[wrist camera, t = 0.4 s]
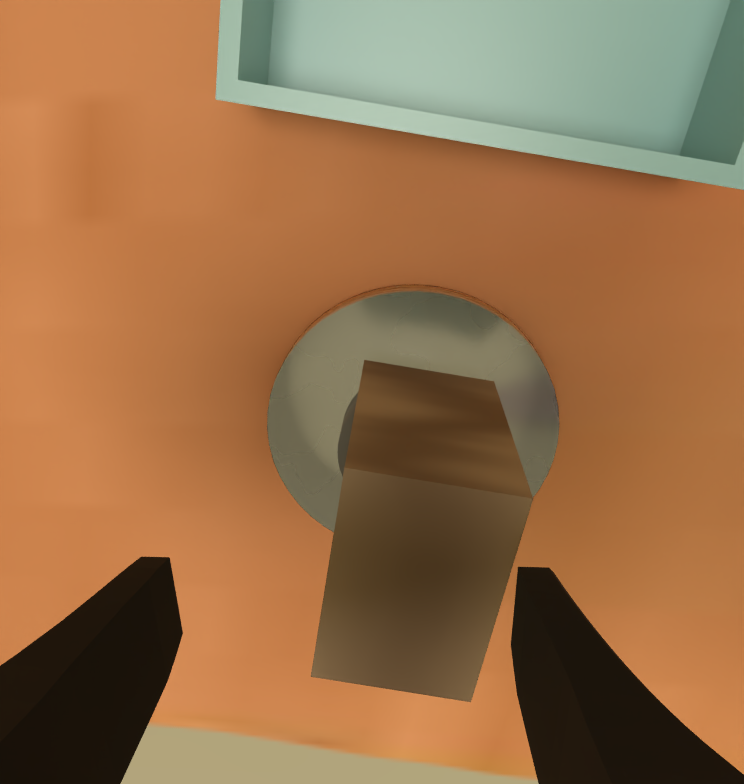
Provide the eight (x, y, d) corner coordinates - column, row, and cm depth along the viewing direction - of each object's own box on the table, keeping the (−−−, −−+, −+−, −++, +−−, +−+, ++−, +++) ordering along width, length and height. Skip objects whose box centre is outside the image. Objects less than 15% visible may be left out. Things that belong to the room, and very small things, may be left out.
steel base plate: (588, 311, 21) (596, 320, 20) (514, 555, 25) (518, 572, 24) (287, 261, 21) (282, 267, 20) (261, 514, 24) (255, 530, 24)
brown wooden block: (500, 365, 20) (552, 501, 13) (461, 517, 23) (486, 704, 16) (355, 341, 20) (325, 464, 13) (331, 496, 23) (294, 673, 15)
